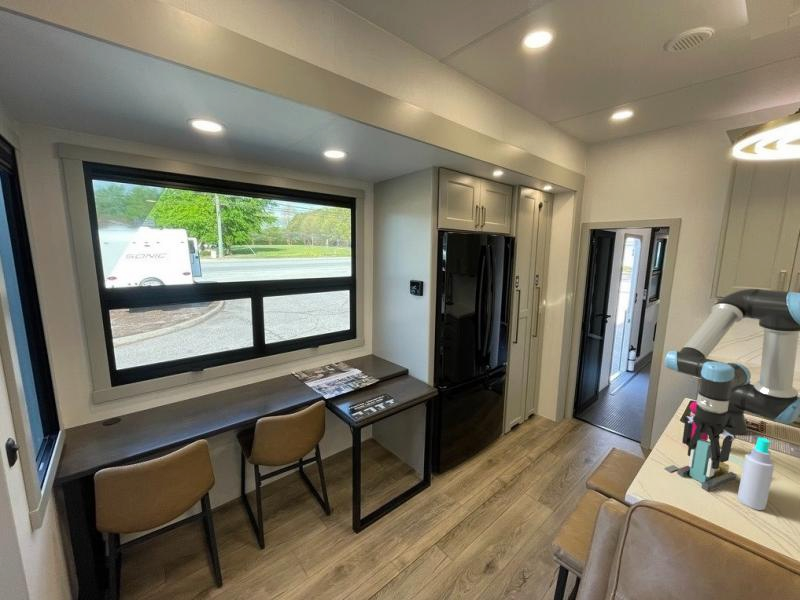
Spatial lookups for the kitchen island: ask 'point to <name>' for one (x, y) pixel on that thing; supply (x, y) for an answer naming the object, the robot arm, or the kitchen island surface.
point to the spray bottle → (756, 476)
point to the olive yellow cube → (715, 473)
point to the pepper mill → (693, 408)
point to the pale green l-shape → (735, 459)
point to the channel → (713, 482)
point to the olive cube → (723, 468)
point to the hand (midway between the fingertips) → (700, 470)
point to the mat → (671, 468)
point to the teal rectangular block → (701, 461)
